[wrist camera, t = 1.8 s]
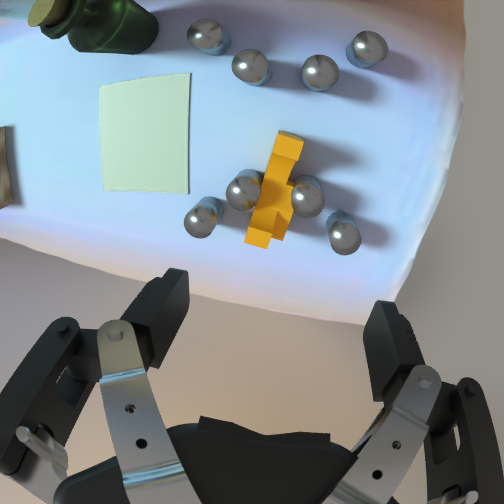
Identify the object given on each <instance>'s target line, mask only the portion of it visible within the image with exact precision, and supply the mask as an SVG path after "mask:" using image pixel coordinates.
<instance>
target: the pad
mask: <svg viewBox="0 0 504 504" xmlns="http://www.w3.org/2000/svg"><path fill="white" fill-rule="evenodd" d="M189 90H190V73H183V74H172V75H162V76H154V77H147V78H140V79H134V80H128V81H123V82H117V83H112V84H108V85H103V86H100V90H99V129H100V151H101V165H102V177H103V187H104V191H135V192H159V193H177V194H188V118H189Z"/></svg>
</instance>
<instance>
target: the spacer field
mask: <svg viewBox="0 0 504 504" xmlns="http://www.w3.org/2000/svg"><path fill="white" fill-rule="evenodd" d="M187 38H188V41H189V42H190V43H191V44H192V45H193V46H195V47H197V48H198V49H200V50H202V51H203V52H205V53H207V54H209V55H212V56H217V55H221V54H223V53H224V52H226V51H227V50H228V48H229V47H230V44H231V39H230V36H229V35H228V34H227V33H226V32H225V30H224V29H223V28H222V27H221V26H220V25H219V24H218V23H217V22H216V21H214V20H212V19H201V20H198V21H196V22H195V23H193V24H192V25H191V26H190V28H189V30H188V32H187ZM387 53H388V46H387V44H386V42H385V40H384V39H383V38H382V37H381V36H380V35H379V34H377V33H375V32H372V31H363V32H360V33H359V34H358V35H357V36H356V37H355V38H354V39H353V40H352V42H351V43H350V44H349V45H348V46H347V48H346V57H347V59H348V60H349V62H350V63H351V64H352V65H354V66H356V67H358V68H368V67H370V66H372V65H374V64H376V63H377V62H379V61H381V60H383V59H384V58H385V57H386V56H387ZM232 71H233V73H234V74H235V76H236V77H238V78H239V79H241V80H242V81H244V82H245V83H247V84H249V85H251V86H260V85H263V84H265V83H266V82H267V81H268V80H269V79H270V77H271V73H272V71H271V67H270V65H269V63H268V61H267V59H266V57H265V56H264V55H263V54H262V53H261V52H259V51H257V50H253V49H247V50H243V51H241V52H239V53H238V54H237V55H236V56H235V57H234V59H233V61H232ZM338 77H339V69H338V66H337V64H336V63H335V62H334V61H333V60H332V59H331V58H329V57H327V56H324V55H314V56H311V57H309V58H308V59H307V60H306V61H305V63H304V65H303V69H302V73H301V79H302V82H303V84H304V85H305V86H306V87H307V88H308V89H310V90H312V91H316V92H320V91H324V90H326V89H328V88H329V87H330V86H332V85H333V84H334V83H335V82H336V81H337V79H338ZM262 182H263V178H262V176H261V175H260V174H259V173H258V172H257V171H255V170H251V169H246V170H243V171H241V172H240V173H239V174H238V175H237V176H236V177H235V178H234V179H233V181H232V182H231V183H230V184H229V185H228V187H227V190H226V198H227V201H228V202H229V204H230V205H231V206H232V207H233V208H235V209H237V210H243V211H244V210H249V209H251V208H253V207H254V206H255V205H256V204H257V202H258V200H259V197H260V194H261V185H262ZM293 185H294V187H293V189H292V192H291V206H292V208H293V210H294V211H295V212H296V213H297V214H298V215H299V216H302V217H306V218H310V217H314V216H316V215H318V214H319V213H320V212H321V211H322V209H323V207H324V204H325V200H324V196H323V193H322V190H321V187H320V185H319V182H318V181H317V180H316V179H315V178H314V177H312V176H309V175H303V176H300V177H298V178H296V179H295V180H294V182H293ZM222 215H223V206H222V204H221V203H220V201H219V200H217V199H216V198H214V197H205V198H203V199H201V200H200V201H199V202H198V203H197V204H196V205H195V206H194V207H193V208H192V209H191V210H190V211H189V212H188V214H187V215H186V216H185V219H184V226H185V229H186V231H187V232H188V233H189V234H190V235H191V236H193V237H195V238H205V237H207V236H209V235H210V234H211V232H212V231H213V229H214V228H215V226H216V225H217V223H218V222H219V220H220V219H221V217H222ZM326 227H327V231H328V235H329V239H330V243H331V247H332V249H333V250H334V251H335V252H336V253H338V254H340V255H350V254H352V253H354V252H355V251H357V249H358V248H359V247H360V244H361V236H360V233H359V231H358V229H357V227H356V225H355V223H354V221H353V219H352V217H351V216H350V215H349V214H348V213H346V212H344V211H337V212H334V213H332V214H331V215H330V216H329V217H328V219H327V222H326Z"/></svg>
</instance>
